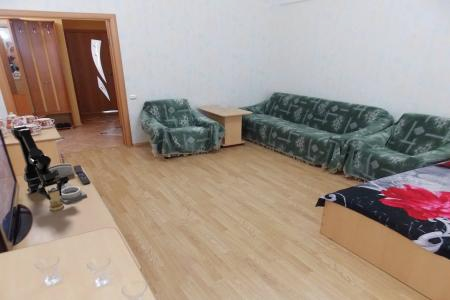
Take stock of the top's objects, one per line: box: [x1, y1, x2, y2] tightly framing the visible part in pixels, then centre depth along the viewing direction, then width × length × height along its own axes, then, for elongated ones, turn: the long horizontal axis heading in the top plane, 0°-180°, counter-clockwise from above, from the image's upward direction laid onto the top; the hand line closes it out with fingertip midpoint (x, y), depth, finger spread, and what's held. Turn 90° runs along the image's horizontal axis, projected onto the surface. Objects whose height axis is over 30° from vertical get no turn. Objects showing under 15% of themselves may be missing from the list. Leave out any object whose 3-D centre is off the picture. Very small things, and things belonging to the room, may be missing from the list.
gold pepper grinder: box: [47, 187, 64, 212], centre depth 152 cm, size 7×7×12 cm
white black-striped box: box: [49, 163, 74, 178], centre depth 191 cm, size 17×5×10 cm, turn 126°
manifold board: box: [47, 182, 88, 205], centre depth 168 cm, size 23×12×5 cm, turn 53°
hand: (55, 197), depth 151 cm, fingers closed on gold pepper grinder, 5 cm apart
